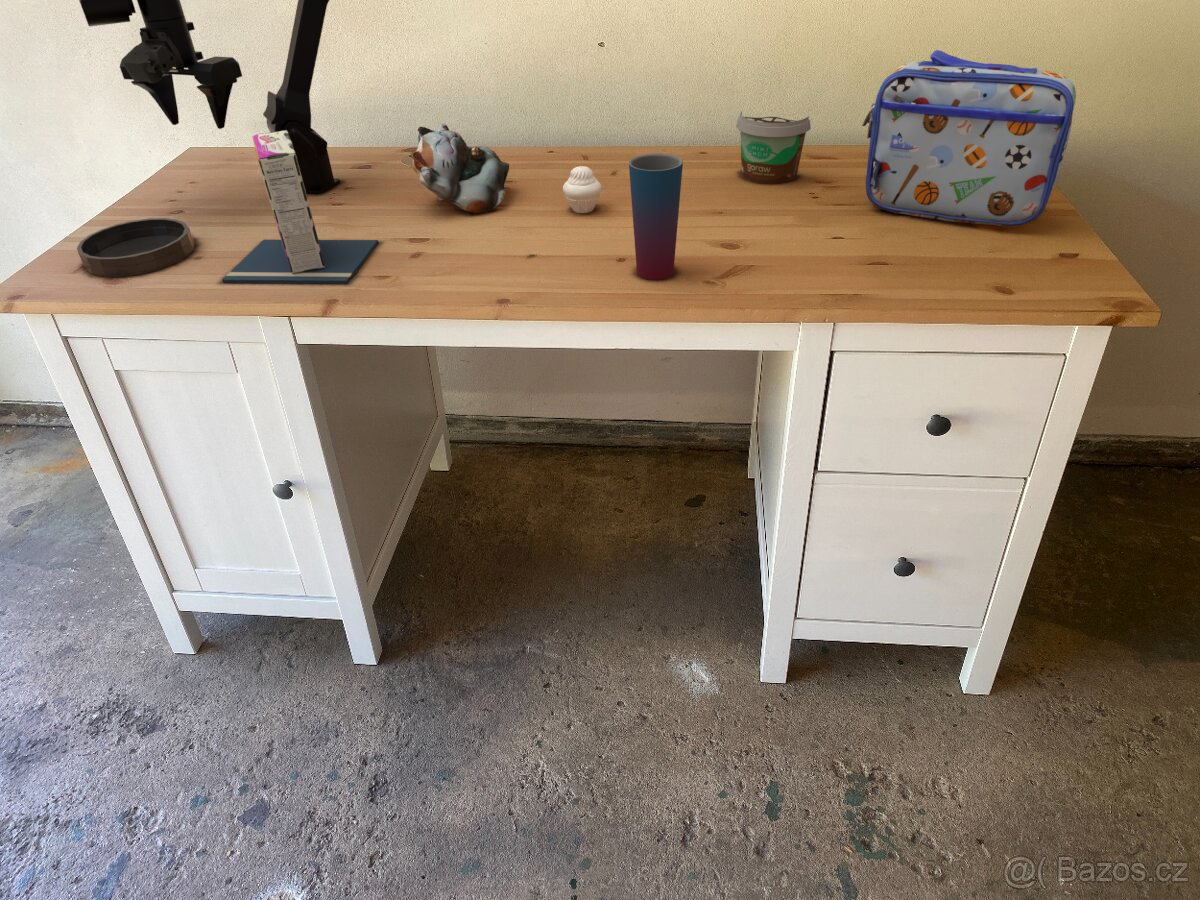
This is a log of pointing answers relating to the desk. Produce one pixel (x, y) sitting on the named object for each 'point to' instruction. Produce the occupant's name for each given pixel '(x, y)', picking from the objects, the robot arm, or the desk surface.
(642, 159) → the cup
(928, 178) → the lunch box
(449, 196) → the lucky cat figurine
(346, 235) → the desk surface
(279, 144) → the candy bar box
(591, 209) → the muffin
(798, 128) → the food container
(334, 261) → the notebook
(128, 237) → the pan
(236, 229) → the desk surface
